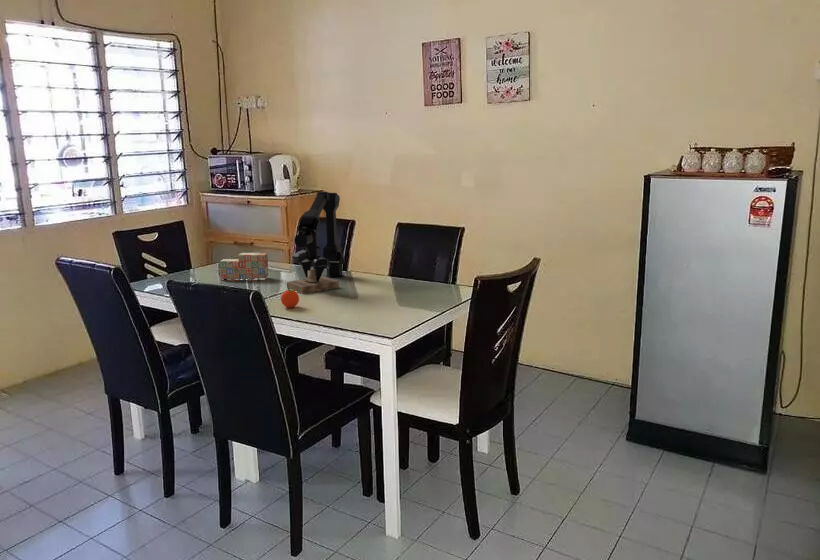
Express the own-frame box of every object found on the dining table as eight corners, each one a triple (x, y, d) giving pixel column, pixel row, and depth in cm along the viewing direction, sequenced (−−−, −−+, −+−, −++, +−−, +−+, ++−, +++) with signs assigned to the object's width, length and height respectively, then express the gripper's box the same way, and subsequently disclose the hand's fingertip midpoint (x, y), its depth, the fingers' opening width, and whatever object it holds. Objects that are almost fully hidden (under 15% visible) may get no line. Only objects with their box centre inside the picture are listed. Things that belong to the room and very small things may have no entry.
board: (322, 282, 296) (322, 276, 295) (338, 287, 285) (338, 281, 285) (286, 288, 285) (286, 281, 285) (302, 294, 274) (302, 287, 274)
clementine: (293, 303, 258) (292, 286, 257) (305, 306, 254) (304, 288, 252) (277, 307, 252) (276, 290, 251) (289, 310, 248) (288, 292, 246)
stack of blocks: (220, 280, 305) (218, 254, 302) (225, 278, 311) (223, 252, 308) (265, 280, 303) (263, 254, 301) (269, 278, 309) (267, 252, 307)
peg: (314, 286, 288) (313, 269, 286) (319, 288, 285) (318, 270, 283) (306, 288, 286) (305, 270, 284) (311, 289, 282) (310, 271, 281)
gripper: (283, 243, 284) (285, 278, 287) (304, 248, 269) (306, 285, 272) (306, 240, 290) (308, 275, 293) (328, 245, 276) (329, 281, 279)
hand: (312, 279), depth 284 cm, fingers open, 9 cm apart
